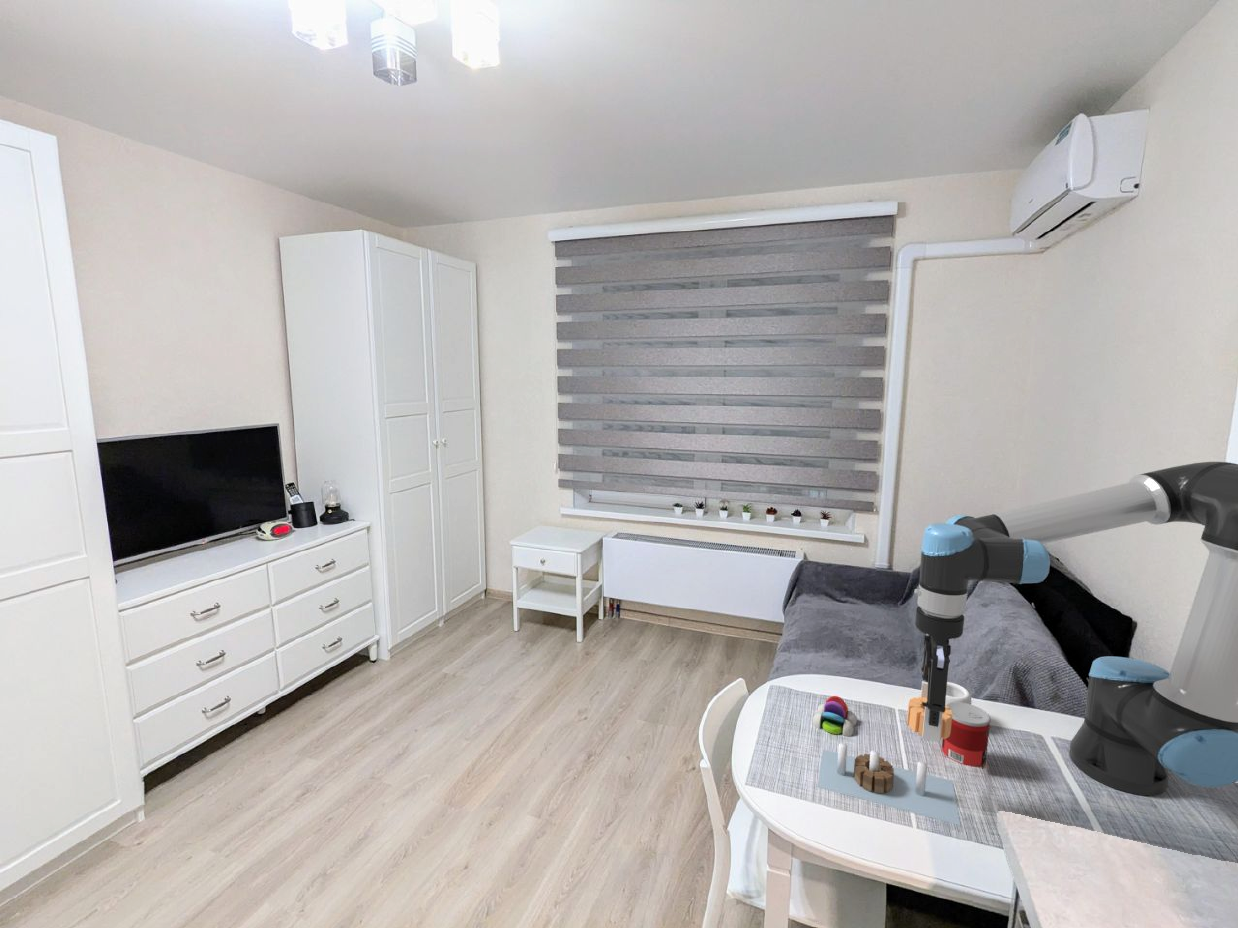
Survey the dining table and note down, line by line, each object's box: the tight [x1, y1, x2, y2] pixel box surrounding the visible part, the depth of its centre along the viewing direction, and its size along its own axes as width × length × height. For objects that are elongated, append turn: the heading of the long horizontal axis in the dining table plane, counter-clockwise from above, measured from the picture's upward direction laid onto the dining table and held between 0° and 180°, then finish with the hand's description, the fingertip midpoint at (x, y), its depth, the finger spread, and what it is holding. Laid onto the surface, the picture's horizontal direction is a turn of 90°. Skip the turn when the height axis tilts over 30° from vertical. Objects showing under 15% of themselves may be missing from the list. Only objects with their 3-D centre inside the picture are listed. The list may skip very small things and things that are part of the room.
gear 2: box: [906, 696, 952, 741], centre depth 106 cm, size 7×7×4 cm
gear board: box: [817, 742, 962, 826], centre depth 111 cm, size 24×12×8 cm, turn 66°
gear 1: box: [854, 753, 894, 793], centre depth 112 cm, size 7×7×3 cm
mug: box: [945, 681, 972, 705], centre depth 134 cm, size 12×8×8 cm
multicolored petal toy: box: [812, 695, 858, 737], centre depth 130 cm, size 8×10×7 cm
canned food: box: [941, 702, 991, 770], centre depth 119 cm, size 8×8×11 cm
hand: (929, 726), depth 106 cm, fingers closed on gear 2, 7 cm apart
